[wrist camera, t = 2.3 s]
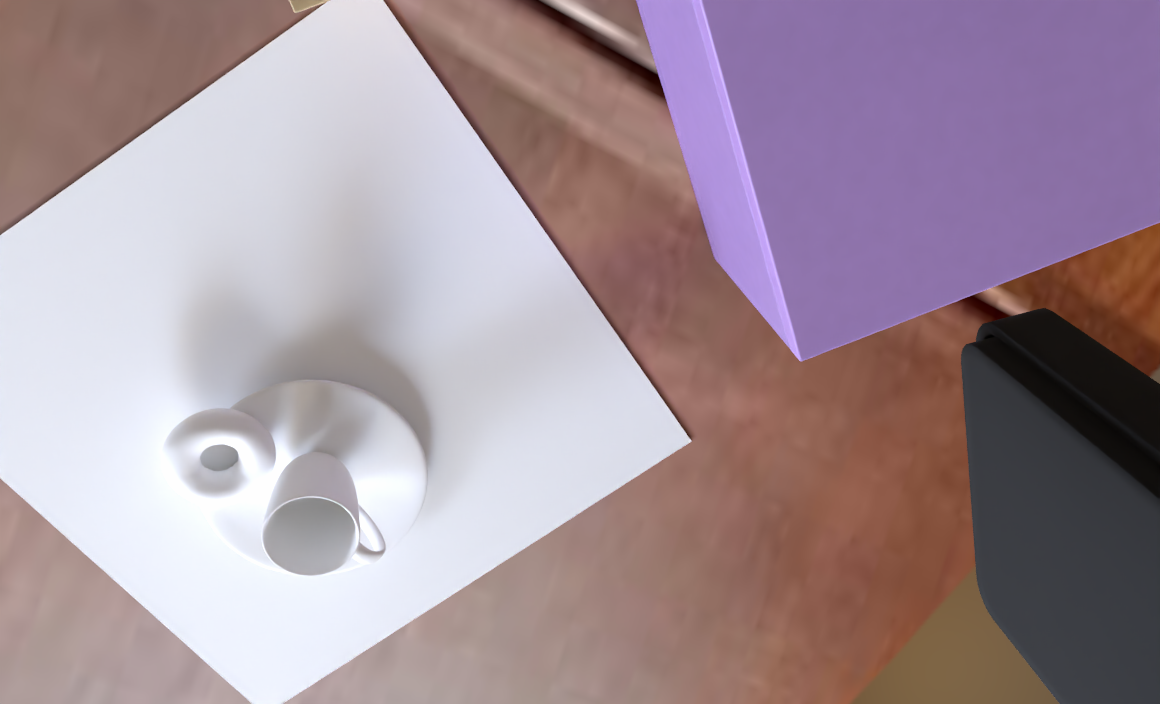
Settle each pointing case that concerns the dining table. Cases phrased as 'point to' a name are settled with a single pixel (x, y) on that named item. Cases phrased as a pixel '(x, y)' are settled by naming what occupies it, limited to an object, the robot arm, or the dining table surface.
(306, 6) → the block
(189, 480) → the teacup and saucer
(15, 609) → the dining table surface
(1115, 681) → the robot arm
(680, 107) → the box
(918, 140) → the lid
